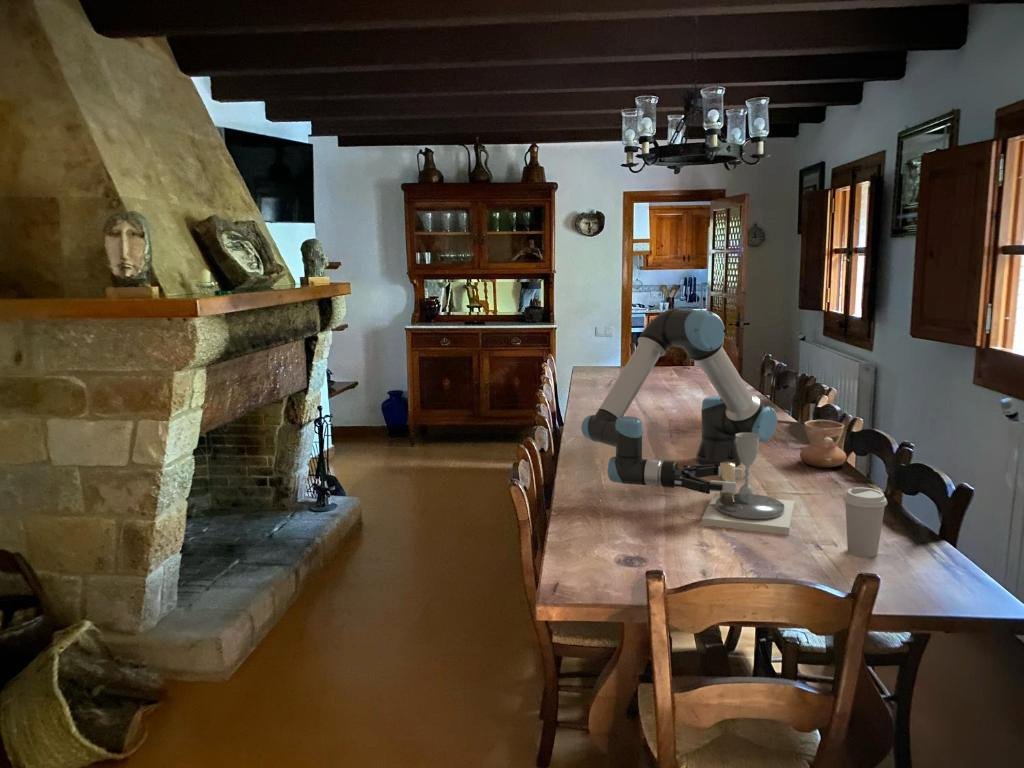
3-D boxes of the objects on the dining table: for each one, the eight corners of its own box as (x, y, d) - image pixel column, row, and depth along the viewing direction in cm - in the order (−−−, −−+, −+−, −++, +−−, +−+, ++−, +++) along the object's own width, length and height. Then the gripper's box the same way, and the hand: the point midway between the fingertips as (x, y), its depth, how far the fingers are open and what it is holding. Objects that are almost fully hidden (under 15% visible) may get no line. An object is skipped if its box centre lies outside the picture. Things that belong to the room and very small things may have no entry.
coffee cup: (871, 543, 185) (875, 485, 183) (892, 559, 176) (896, 498, 173) (833, 545, 185) (836, 487, 182) (852, 561, 176) (855, 499, 173)
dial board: (714, 499, 221) (714, 492, 221) (794, 507, 213) (794, 499, 212) (701, 525, 202) (701, 517, 201) (788, 535, 193) (789, 526, 192)
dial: (720, 495, 218) (721, 454, 216) (786, 501, 211) (787, 459, 209) (710, 515, 202) (711, 471, 200) (781, 522, 195) (782, 477, 193)
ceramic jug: (850, 472, 243) (852, 430, 241) (803, 471, 246) (804, 429, 244) (840, 457, 260) (841, 417, 258) (795, 456, 264) (797, 417, 261)
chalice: (742, 498, 222) (743, 438, 219) (729, 491, 228) (730, 433, 225) (763, 495, 224) (765, 436, 221) (750, 488, 230) (752, 431, 227)
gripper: (671, 474, 227) (744, 480, 218) (652, 499, 204) (732, 508, 196) (671, 450, 226) (744, 455, 217) (652, 473, 203) (733, 480, 195)
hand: (739, 480), depth 206 cm, fingers open, 13 cm apart
